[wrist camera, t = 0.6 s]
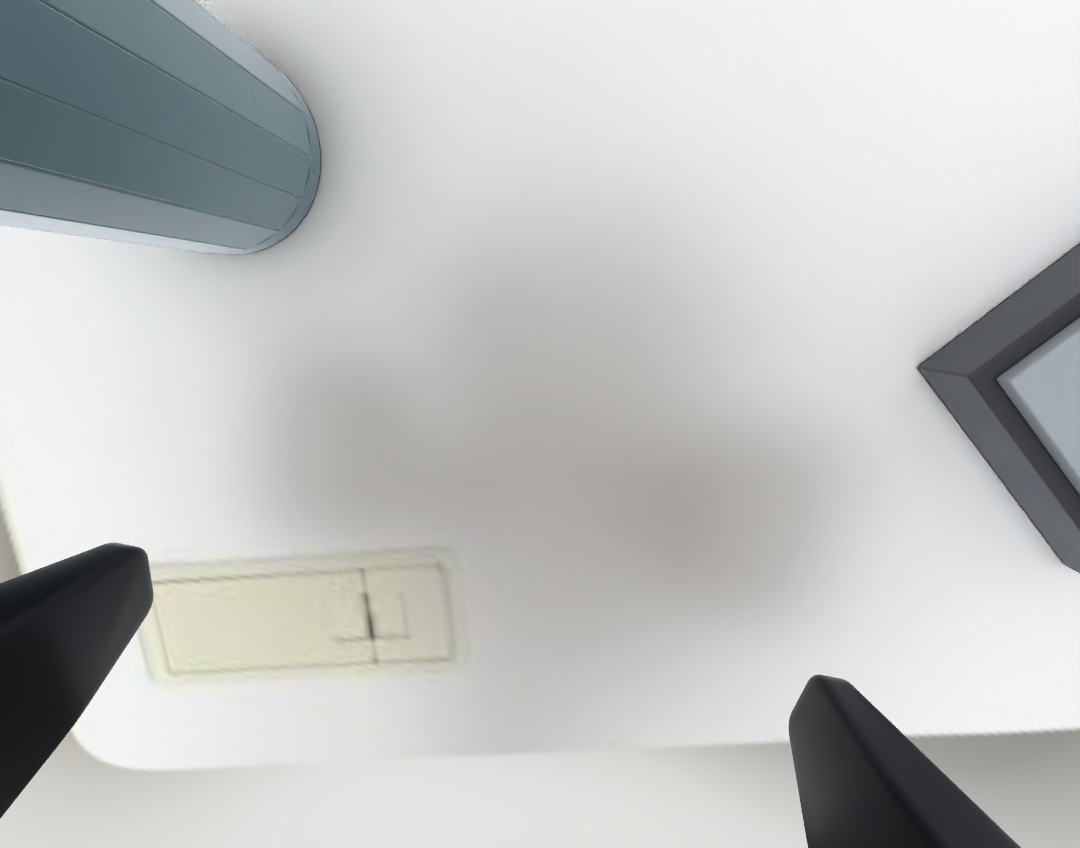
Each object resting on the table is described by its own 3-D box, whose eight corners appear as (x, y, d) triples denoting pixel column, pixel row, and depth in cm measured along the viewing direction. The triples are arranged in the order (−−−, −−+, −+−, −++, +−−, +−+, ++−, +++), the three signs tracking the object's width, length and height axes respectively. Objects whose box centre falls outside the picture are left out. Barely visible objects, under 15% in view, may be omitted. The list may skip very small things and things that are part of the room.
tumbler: (298, 279, 18) (-290, 229, 6) (115, 220, 18) (-920, 33, 5) (340, 81, 17) (-290, -555, 4) (144, 16, 17) (-1112, -848, 4)
